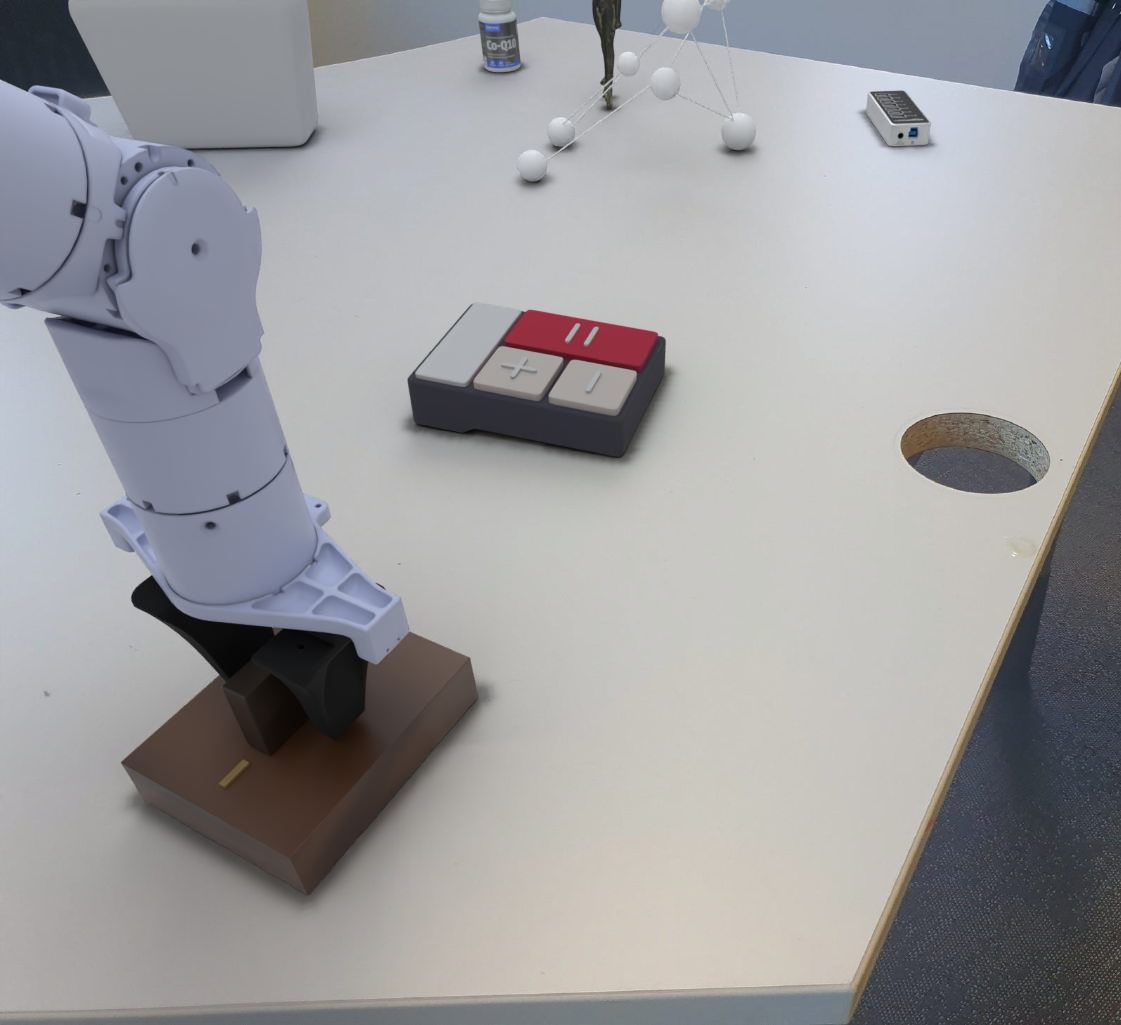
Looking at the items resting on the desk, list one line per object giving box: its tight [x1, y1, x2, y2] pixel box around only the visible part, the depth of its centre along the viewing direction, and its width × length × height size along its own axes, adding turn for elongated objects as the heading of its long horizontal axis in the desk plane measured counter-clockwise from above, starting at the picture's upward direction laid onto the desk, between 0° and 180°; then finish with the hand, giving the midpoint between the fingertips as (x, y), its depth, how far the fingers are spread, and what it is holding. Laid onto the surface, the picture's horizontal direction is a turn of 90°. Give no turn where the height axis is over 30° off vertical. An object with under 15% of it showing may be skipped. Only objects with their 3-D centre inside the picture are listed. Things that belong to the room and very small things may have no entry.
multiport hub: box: [865, 89, 932, 147], centre depth 110 cm, size 4×11×2 cm, turn 5°
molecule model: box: [516, 0, 757, 182], centre depth 99 cm, size 14×25×18 cm, turn 97°
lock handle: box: [221, 660, 309, 755], centre depth 44 cm, size 6×1×4 cm, turn 152°
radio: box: [67, 0, 319, 150], centre depth 101 cm, size 22×8×25 cm, turn 93°
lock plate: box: [120, 627, 479, 896], centre depth 47 cm, size 12×10×3 cm
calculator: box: [406, 302, 667, 458], centre depth 69 cm, size 11×4×15 cm
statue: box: [591, 0, 623, 109], centre depth 111 cm, size 5×6×20 cm
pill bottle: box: [477, 0, 522, 73], centre depth 125 cm, size 5×5×8 cm
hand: (301, 700), depth 46 cm, fingers open, 5 cm apart
